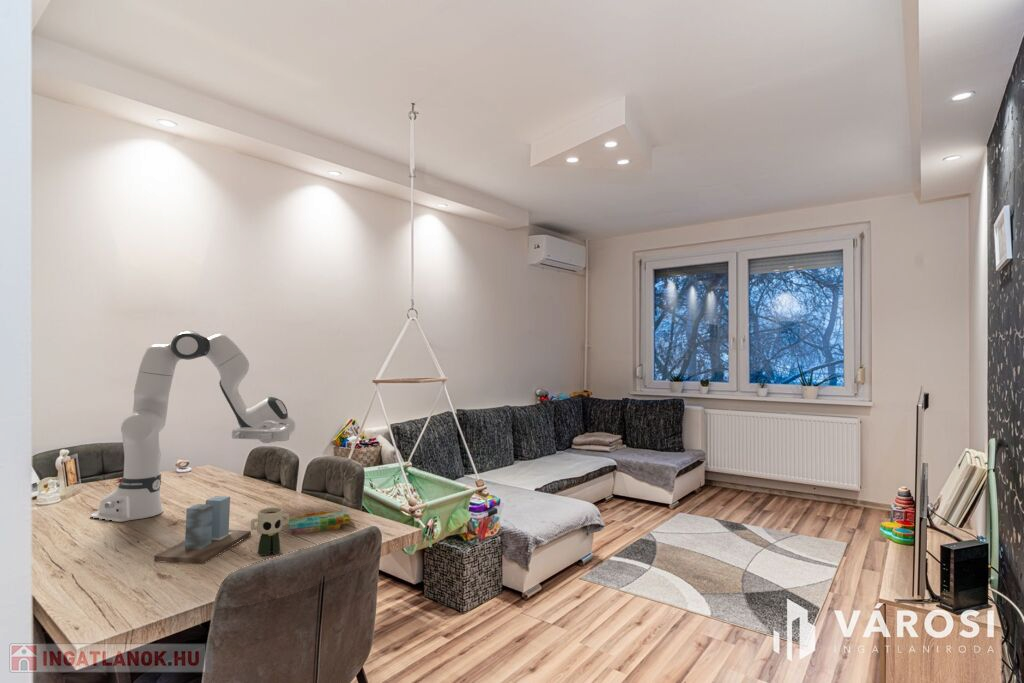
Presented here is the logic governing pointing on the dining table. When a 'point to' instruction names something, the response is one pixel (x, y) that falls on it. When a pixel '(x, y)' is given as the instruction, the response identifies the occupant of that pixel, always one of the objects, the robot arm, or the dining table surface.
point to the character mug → (269, 529)
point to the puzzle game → (318, 521)
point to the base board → (202, 553)
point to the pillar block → (220, 515)
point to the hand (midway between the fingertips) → (249, 436)
